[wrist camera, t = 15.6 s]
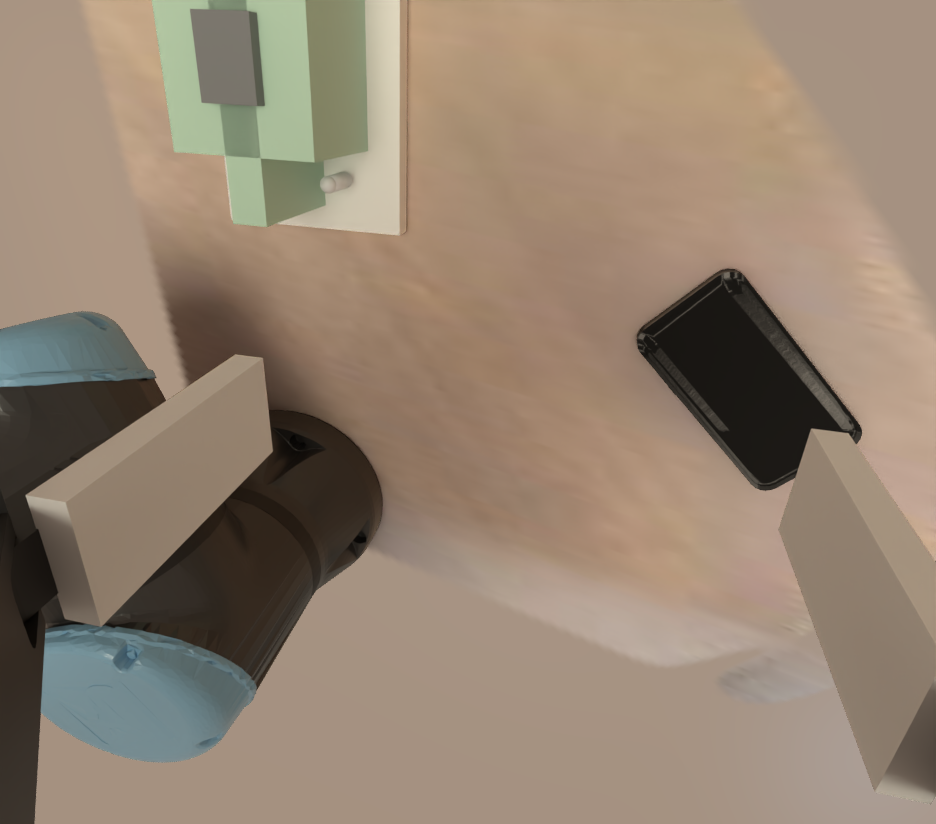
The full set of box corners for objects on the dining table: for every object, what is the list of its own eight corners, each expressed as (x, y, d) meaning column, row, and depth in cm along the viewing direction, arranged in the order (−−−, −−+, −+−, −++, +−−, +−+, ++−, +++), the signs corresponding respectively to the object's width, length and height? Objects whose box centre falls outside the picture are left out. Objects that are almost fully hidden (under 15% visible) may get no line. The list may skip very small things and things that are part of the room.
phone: (734, 263, 39) (869, 437, 42) (731, 259, 40) (863, 430, 43) (628, 341, 43) (760, 497, 45) (628, 335, 44) (756, 488, 46)
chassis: (406, 231, 43) (382, 246, 39) (242, 216, 45) (202, 228, 41) (408, -127, 35) (377, -159, 30) (206, -127, 37) (150, -157, 32)
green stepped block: (369, 208, 42) (312, 234, 34) (255, 199, 43) (175, 221, 35) (362, -100, 34) (288, -157, 27) (226, -101, 36) (117, -155, 28)
